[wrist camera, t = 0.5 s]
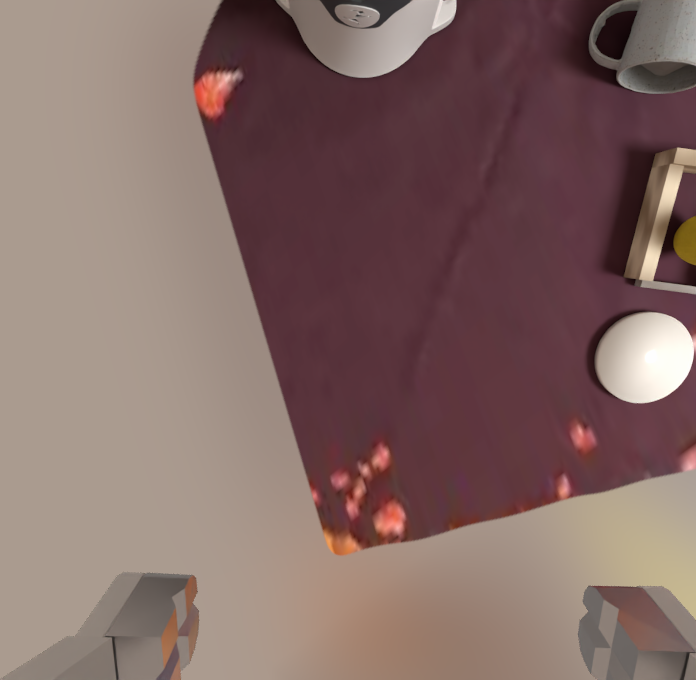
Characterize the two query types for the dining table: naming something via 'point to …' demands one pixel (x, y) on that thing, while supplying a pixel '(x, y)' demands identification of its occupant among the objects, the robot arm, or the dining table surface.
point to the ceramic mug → (653, 46)
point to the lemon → (686, 241)
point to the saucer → (644, 357)
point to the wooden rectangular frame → (658, 218)
